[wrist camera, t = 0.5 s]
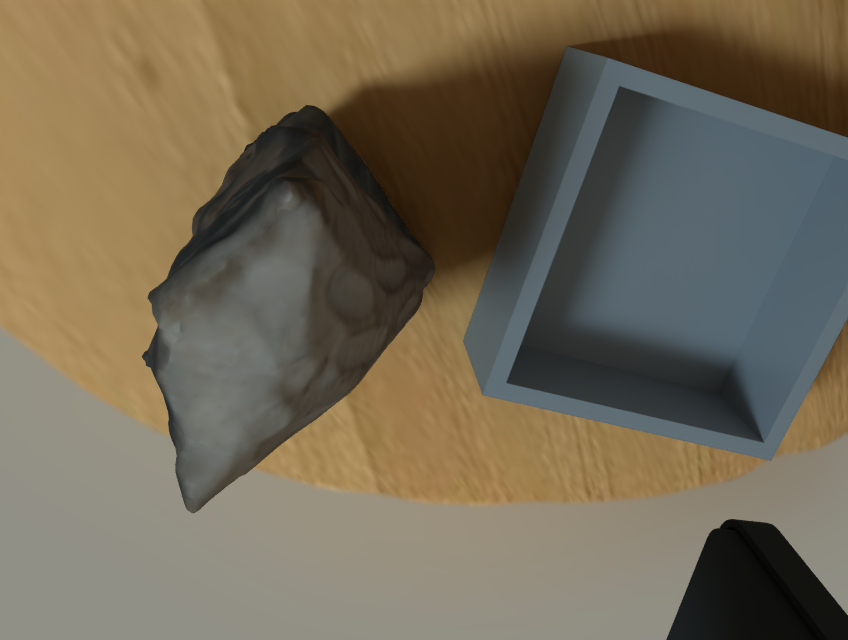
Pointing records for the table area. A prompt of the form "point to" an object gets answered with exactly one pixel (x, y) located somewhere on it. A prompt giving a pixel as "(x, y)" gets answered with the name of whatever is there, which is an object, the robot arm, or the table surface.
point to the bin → (666, 261)
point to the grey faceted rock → (278, 300)
